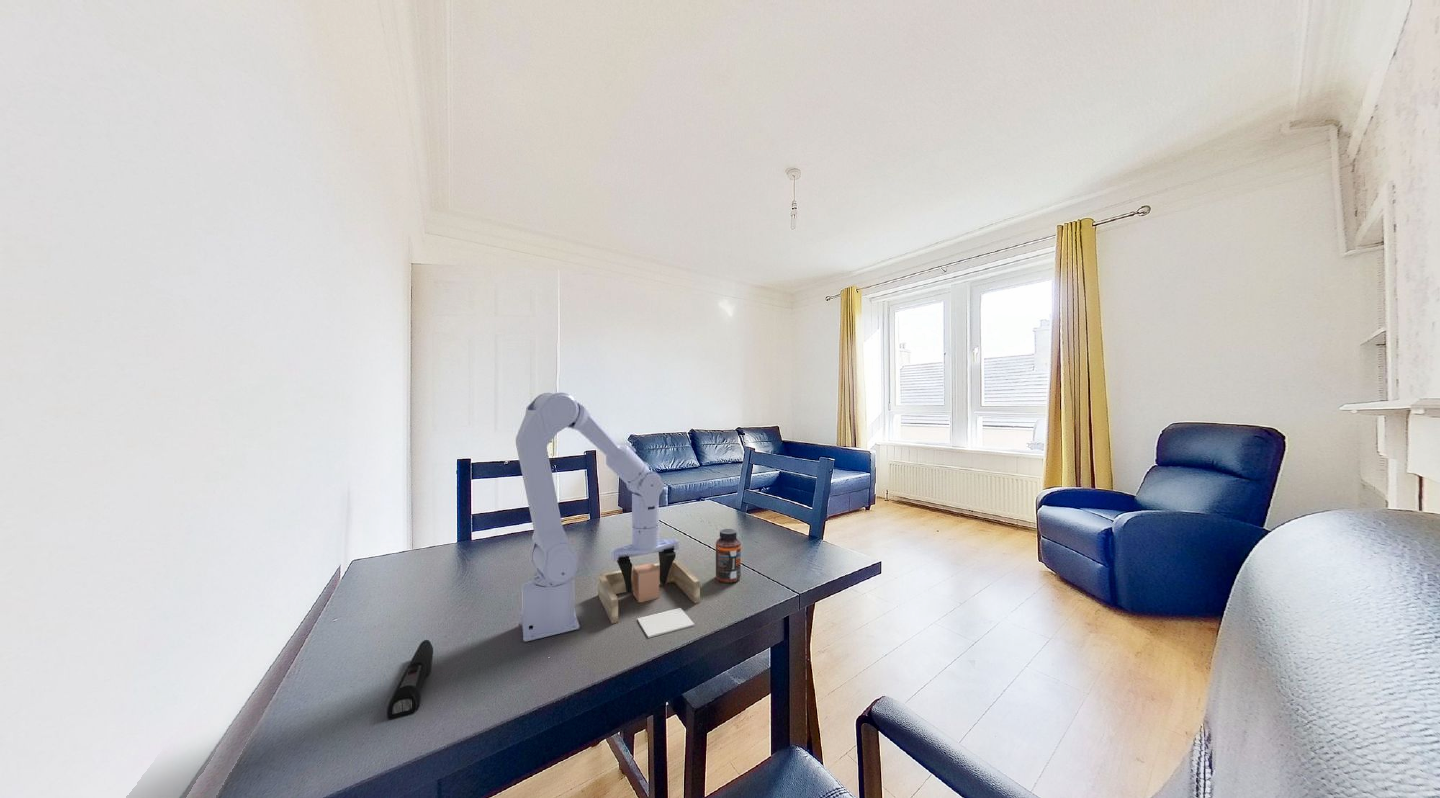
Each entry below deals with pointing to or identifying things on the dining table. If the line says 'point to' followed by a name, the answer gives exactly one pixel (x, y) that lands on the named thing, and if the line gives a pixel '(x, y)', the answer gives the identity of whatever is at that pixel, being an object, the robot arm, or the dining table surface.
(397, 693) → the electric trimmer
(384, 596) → the dining table surface
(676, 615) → the pad
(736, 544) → the supplement bottle
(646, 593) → the block
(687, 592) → the wooden u-shaped frame
